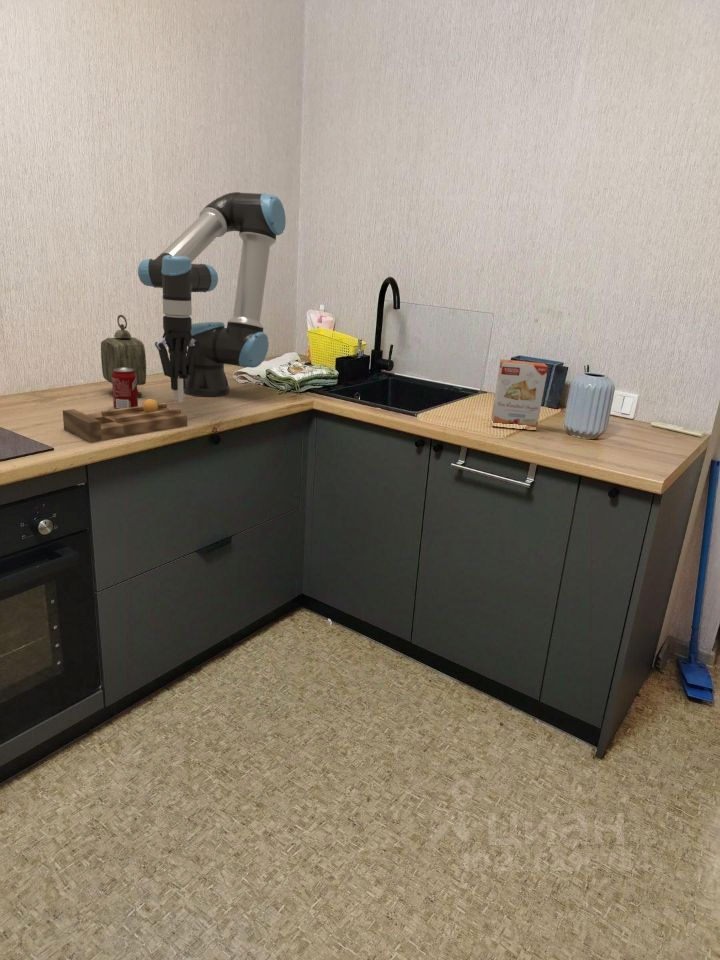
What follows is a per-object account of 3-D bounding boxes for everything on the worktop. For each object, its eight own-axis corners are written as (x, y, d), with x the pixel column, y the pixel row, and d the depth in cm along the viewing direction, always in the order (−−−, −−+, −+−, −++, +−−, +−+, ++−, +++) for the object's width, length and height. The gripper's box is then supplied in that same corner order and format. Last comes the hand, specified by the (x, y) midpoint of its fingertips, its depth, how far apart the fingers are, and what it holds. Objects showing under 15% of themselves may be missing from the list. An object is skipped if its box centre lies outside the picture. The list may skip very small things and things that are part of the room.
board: (159, 414, 190) (159, 398, 188) (187, 425, 181) (187, 408, 179) (64, 429, 170) (62, 410, 168) (90, 442, 161) (88, 422, 159)
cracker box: (492, 428, 205) (502, 361, 198) (490, 423, 210) (499, 358, 203) (537, 432, 204) (548, 365, 197) (533, 427, 210) (544, 362, 203)
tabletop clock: (147, 398, 207) (144, 318, 198) (119, 400, 201) (114, 318, 193) (129, 389, 217) (125, 312, 208) (102, 391, 211) (97, 312, 203)
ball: (153, 410, 182) (152, 396, 181) (161, 413, 180) (160, 399, 178) (140, 412, 179) (139, 398, 178) (148, 415, 177) (147, 401, 175)
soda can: (130, 413, 188) (128, 372, 184) (109, 410, 190) (106, 369, 186) (142, 408, 195) (140, 368, 191) (121, 405, 196) (119, 366, 192)
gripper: (189, 313, 184) (190, 395, 192) (148, 314, 175) (150, 400, 182) (205, 317, 179) (205, 401, 187) (163, 317, 170) (165, 406, 178)
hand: (178, 400), depth 185 cm, fingers closed
